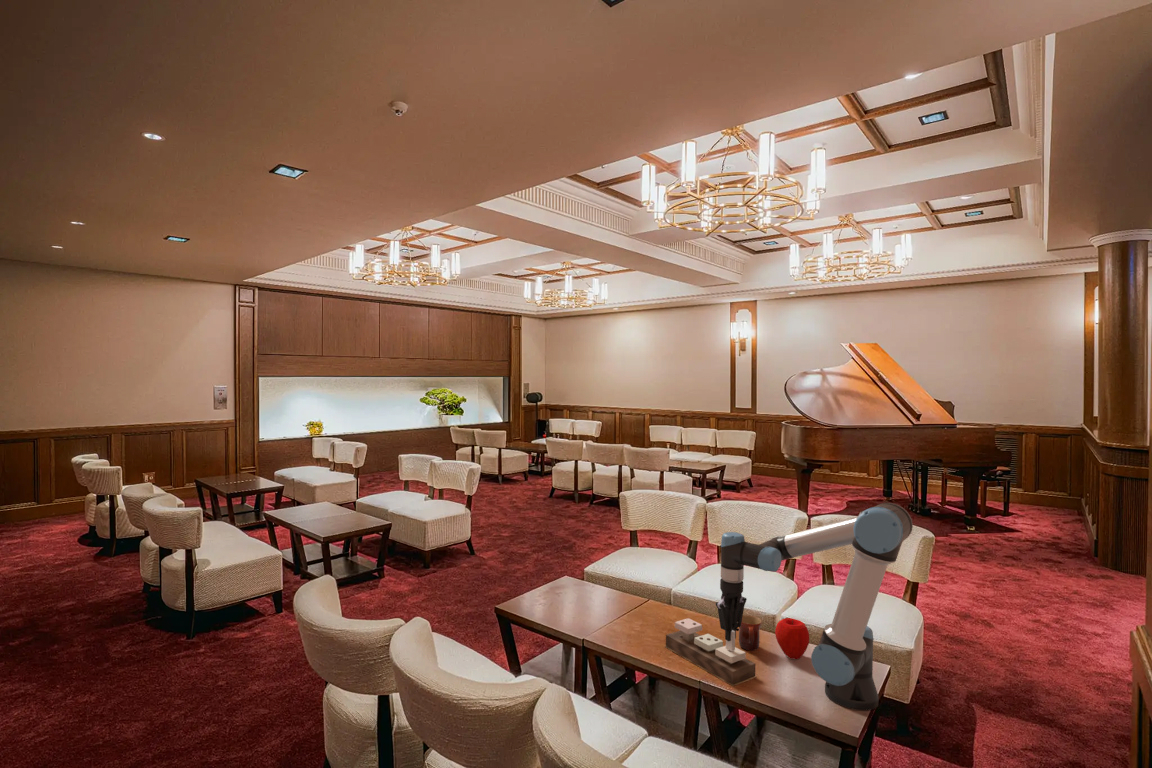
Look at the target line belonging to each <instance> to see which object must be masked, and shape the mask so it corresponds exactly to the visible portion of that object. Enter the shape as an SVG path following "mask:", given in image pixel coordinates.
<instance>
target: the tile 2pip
mask: <svg viewBox="0 0 1152 768" xmlns="http://www.w3.org/2000/svg"><path fill="white" fill-rule="evenodd" d="M674 628H675V629H677V630H678V631H683V639H685V640H686V641H691V640H694V633H698V632H701V631H703V624H701V623H699V622H697V621H695V620H693V619H692V618H689V617H688V618H684V619H680V620H677V621H674Z"/></svg>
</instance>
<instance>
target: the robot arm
mask: <svg viewBox="0 0 1152 768" xmlns="http://www.w3.org/2000/svg"><path fill="white" fill-rule="evenodd" d="M913 527H914V524H913V519H912V517H911V515H910V514H909V512H908V511H907V509H906V508H904V507H902V506H901V505H898V504H896V503H892V502H883V503H880V504H877V505H874V506H872V507H869V508H867V509H865V510H863V511H860V512H859V514H858V516H853V517H850V518H845V519H843V520H839V521H835V522H831V523H826V524H823V525H820V526H816V527H811V528H808V529H804V530H801V531H797V532H793V533H789V534H787V535H782V536H775V537H772V538H771V539H768V540H766V541H764V542H762V543H759V544H758V543H752V542H748V541H746V540H745V536H744V534H743V533H740V532H734V531H727V532H724V533H723V534H722V535H721V539H720V540H721V541H720V542H721V543H720V581H719V582H720V583H719V589H720V591H721V597H720V600H719V601H716V602H715V606H716V608H717V613H718V619H719V625H720V629H721V630H724V639H725V646H726V649H728V650H730V651H735V647H736V638H737V632H739V627H741V622H742V617H743V615H744V610H745V605H746V602H747V597H744V596H743V595H742V593H744V579H745V577H744V576H745V575H744V574H745V573H744V570H745V569H744V568H745V567H744V566H747V567H750V568H754V569H758V570H762V571H764V572H773V573H775V572H777V571H779V568H781V566H782V562H783V561H786V560H789V559H793V558H797V557H802V556H807V555H811V554H815V553H820V552H823V551H827V550H832V549H837V548H841V547H845V546H849V545H851V547H852V548H853V550H854V552H855V553H854V555H853V558H852V562H851V564H850V568H849V570H848V573H847V576H846V580H845V582H844V584H843V585H844V586H843V588H842V592H841V595H840V597H839V601H838V604H837V606H836V607H837V608H836V610H835V612H834V616H833V618H832V622H831V623H829V624H826V625H824V627H823V631H822V634H821V636H820V638H819V639H820V641H819V642H818V644H817V645H816V646H815V647H814V649H813V650H812V653H811V655H810V656H811V657H810V658H811V659H810V660H811V664H812V668H813V669H814V671H815V673H816V674H817V675H818V676H819V677H820V678H821V679H822V680H823V681H825V683H824V693H825V695H826V697H827V698H828V699H829V700H831V701H832V702H834V703H836V704H837V705H840V706H842V707H844V708H847V709H850V710H856V711H871V710H874V709H876V708H877V707H878V706H879V700H880V699H879V693H878V691H877V688H876V685H875V684H876V683H875V680H874V677H873V671H874V670H873V667H874V665H873V664H874V640H875V638H874V632H873V631H874V630H872V628H871V627H870V626H868V623H869V621H870V618H871V615H872V612H873V609H874V606H875V603H876V601H877V598H878V594H879V591H880V588H881V586H882V583H883V580H884V578H885V573H886V571H887V568H888V566H889V565H890V564H893V563H896V561H897V559H898V557H899V556H898V555H899V552H900V550H901V547H902V544H903V542H904V541H905V540H907V539H908V538H909V537H910V535H911V533H912V532H913Z"/></svg>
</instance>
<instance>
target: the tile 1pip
mask: <svg viewBox="0 0 1152 768" xmlns="http://www.w3.org/2000/svg"><path fill="white" fill-rule="evenodd" d="M715 655H716V656H718V657H720V658H722V659H724V661H725V662H727V663H729V664H734V663H736V662H737V661H740V660H743V659H745V658H746V657H747V655H746V651H744V650H742V649H740V648H739V647H736V646H735V651H730V650H728V649H726V645H723V647H720V648H717V649H715ZM746 659H747V658H746Z"/></svg>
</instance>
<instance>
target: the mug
mask: <svg viewBox="0 0 1152 768" xmlns="http://www.w3.org/2000/svg"><path fill="white" fill-rule="evenodd" d="M762 623H763V622H762V619H761V618H759V617H756V616H754V615H750V614H749V615H747V614H743V617H742V622H741V627H738V629H739V631H738V644H739V646H740V648H741V649H743V650H746V651H750V652H751V651H757V650H758V649H759V647H760V643H761V642H760V629H761V626H762Z"/></svg>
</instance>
